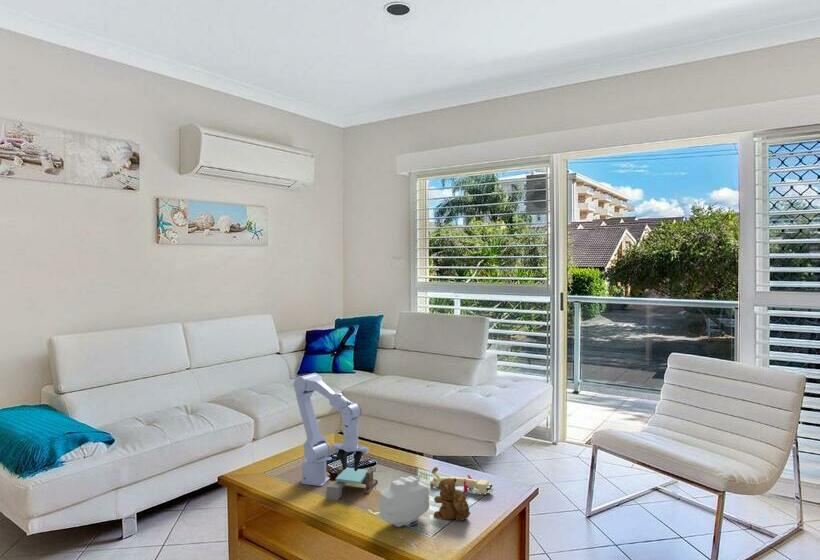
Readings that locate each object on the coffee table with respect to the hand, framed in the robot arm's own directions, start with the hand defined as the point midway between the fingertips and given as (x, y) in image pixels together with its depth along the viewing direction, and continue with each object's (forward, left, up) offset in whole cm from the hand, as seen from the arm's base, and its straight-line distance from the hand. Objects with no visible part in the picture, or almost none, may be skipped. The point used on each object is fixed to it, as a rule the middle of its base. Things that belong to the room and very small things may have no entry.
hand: (350, 469), depth 202 cm
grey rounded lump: (+26, -16, -10) cm, 32 cm away
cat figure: (+41, +15, -10) cm, 45 cm away
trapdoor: (0, +3, -7) cm, 8 cm away
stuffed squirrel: (+42, -7, -10) cm, 44 cm away
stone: (-5, -5, -10) cm, 12 cm away
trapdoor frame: (0, +7, -9) cm, 12 cm away
